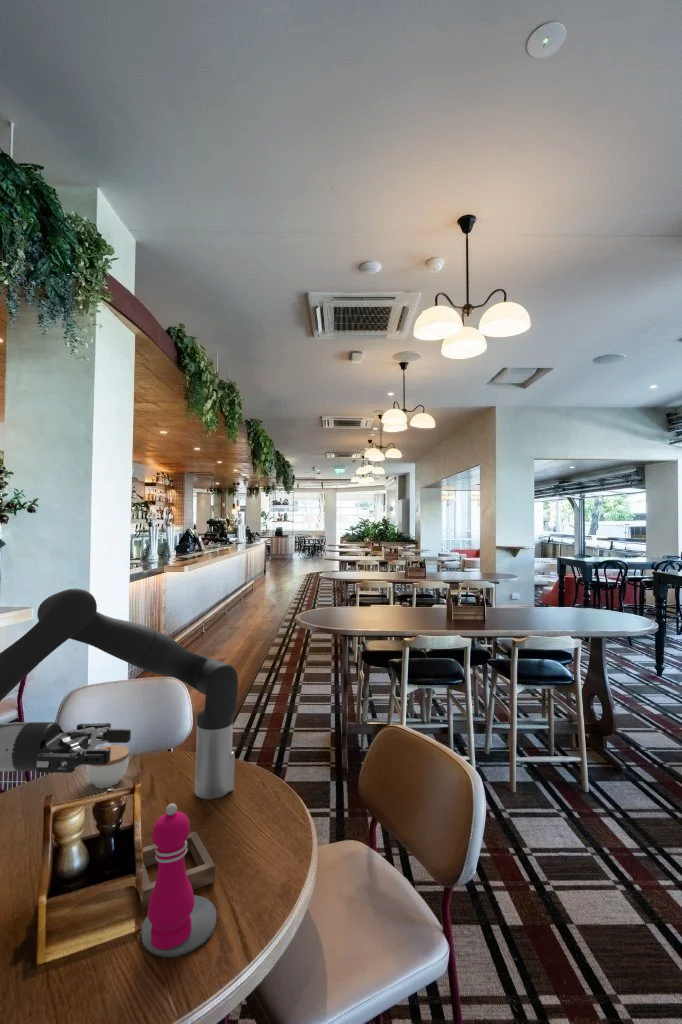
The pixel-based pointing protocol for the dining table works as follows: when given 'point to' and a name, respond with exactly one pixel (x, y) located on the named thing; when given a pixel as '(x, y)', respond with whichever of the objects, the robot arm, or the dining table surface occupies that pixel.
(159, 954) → the grey round disc
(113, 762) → the lidded jar
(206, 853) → the walnut board
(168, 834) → the pepper mill
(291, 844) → the dining table surface
